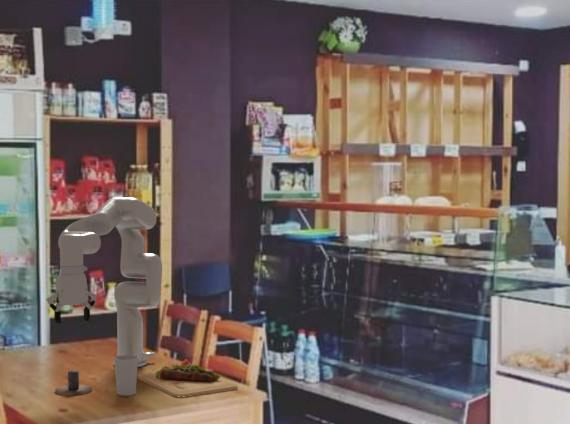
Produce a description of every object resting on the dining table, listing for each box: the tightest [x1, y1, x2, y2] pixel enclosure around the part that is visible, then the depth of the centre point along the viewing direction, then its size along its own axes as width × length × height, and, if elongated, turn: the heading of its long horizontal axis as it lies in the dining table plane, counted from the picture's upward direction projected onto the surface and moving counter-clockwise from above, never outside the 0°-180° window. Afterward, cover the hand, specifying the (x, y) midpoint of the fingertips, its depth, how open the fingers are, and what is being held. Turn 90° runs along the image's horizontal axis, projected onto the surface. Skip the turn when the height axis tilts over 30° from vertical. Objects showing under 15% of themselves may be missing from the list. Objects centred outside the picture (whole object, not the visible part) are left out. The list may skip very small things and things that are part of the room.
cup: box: [113, 355, 139, 396], centre depth 306 cm, size 8×8×12 cm
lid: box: [54, 369, 93, 397], centre depth 309 cm, size 12×12×7 cm
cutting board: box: [137, 358, 238, 398], centre depth 321 cm, size 35×23×8 cm
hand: (72, 321), depth 308 cm, fingers open, 9 cm apart
